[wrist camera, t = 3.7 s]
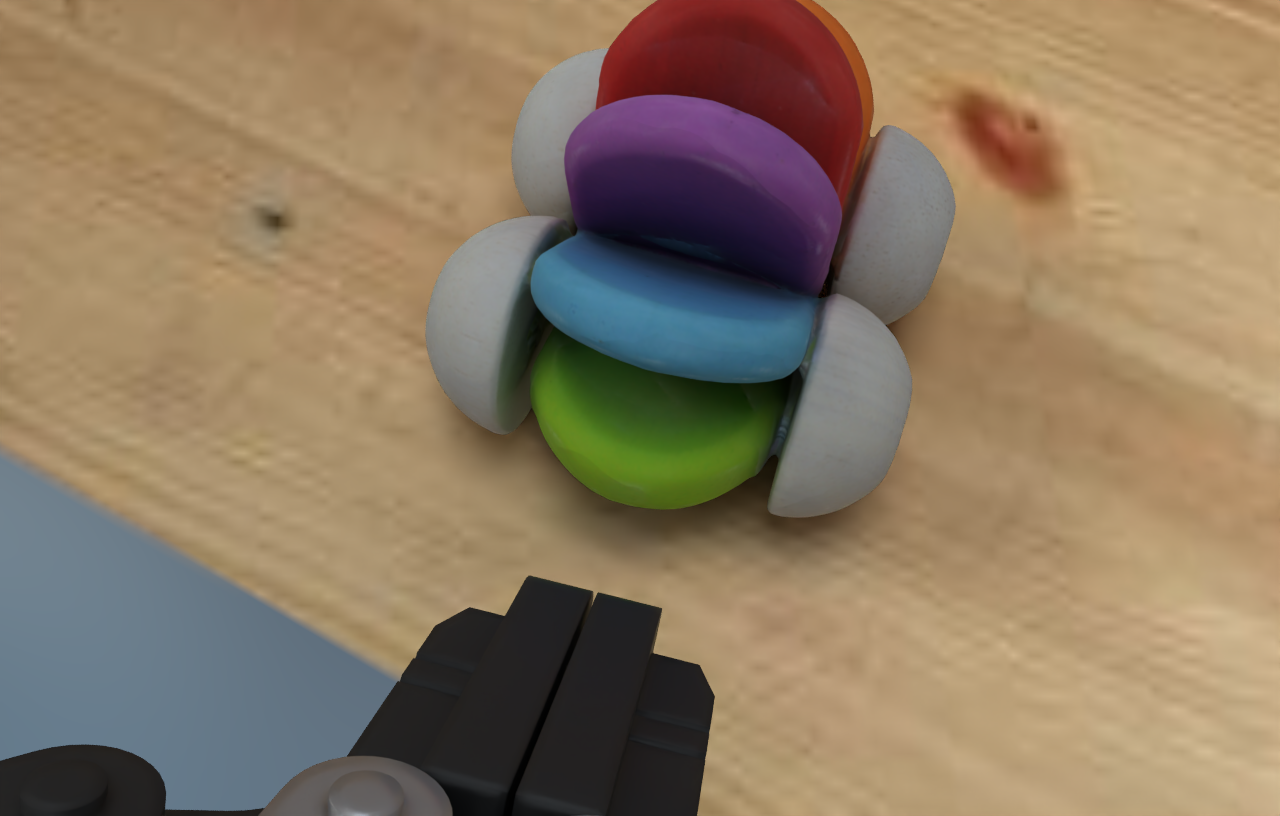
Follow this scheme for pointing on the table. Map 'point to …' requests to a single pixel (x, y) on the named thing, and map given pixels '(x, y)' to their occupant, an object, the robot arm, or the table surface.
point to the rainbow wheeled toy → (702, 264)
